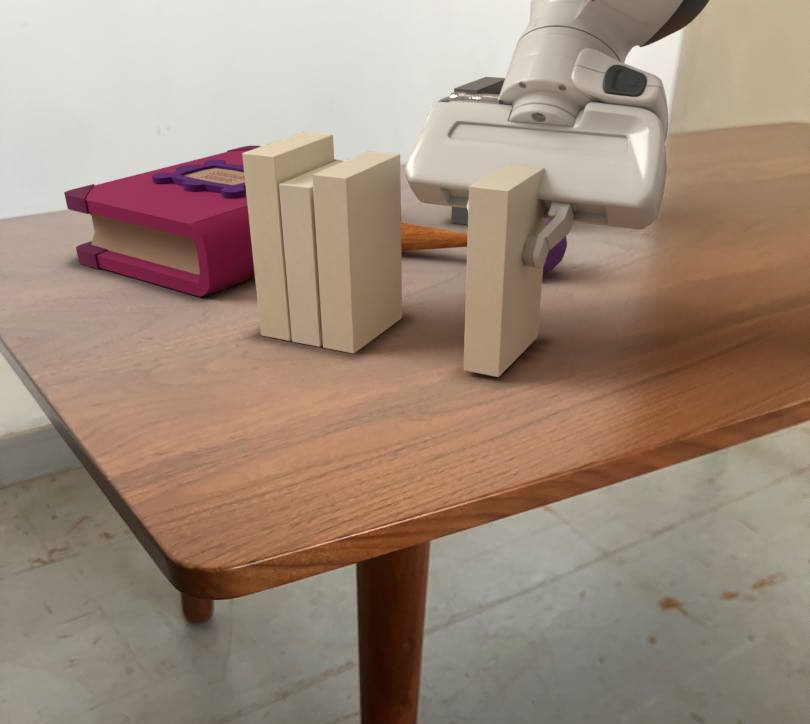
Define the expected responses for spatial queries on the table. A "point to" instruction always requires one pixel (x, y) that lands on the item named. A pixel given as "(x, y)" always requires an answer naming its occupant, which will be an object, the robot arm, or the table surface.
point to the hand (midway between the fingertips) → (504, 260)
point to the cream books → (324, 241)
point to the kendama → (461, 242)
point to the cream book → (502, 268)
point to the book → (172, 224)
